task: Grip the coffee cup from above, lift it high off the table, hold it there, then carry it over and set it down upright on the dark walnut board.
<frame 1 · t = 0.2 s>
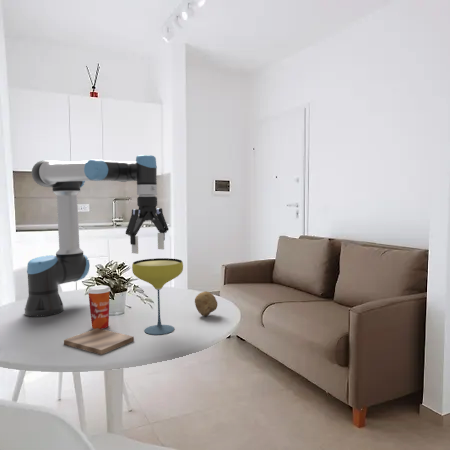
hand: (148, 251, 159), 27 cm above the table, tool pointing down, fingers open, 13 cm apart
walnut board: (99, 342, 137), on the table
cocktail glass: (159, 330, 149), on the table
natural sponge: (206, 316, 166), on the table
coffee cup: (100, 327, 154), on the table
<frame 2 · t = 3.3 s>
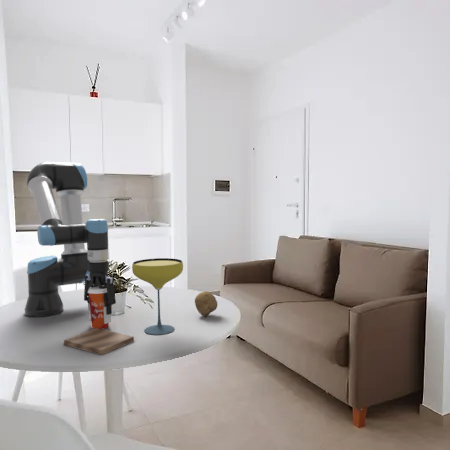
hand: (100, 321, 154), 2 cm above the table, tool pointing down, fingers closed on coffee cup, 7 cm apart
coffee cup: (100, 327, 154), on the table, touching gripper
everything else where it was.
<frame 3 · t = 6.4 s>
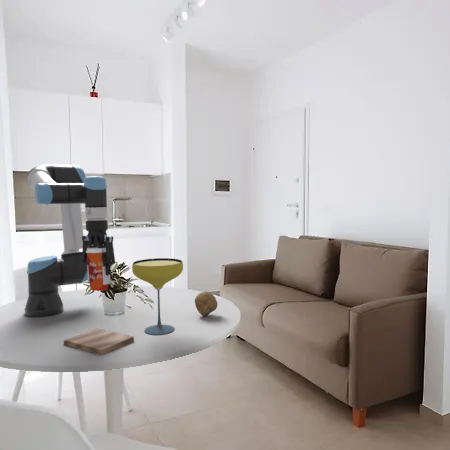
hand: (99, 282, 148), 18 cm above the table, tool pointing down, fingers closed on coffee cup, 7 cm apart
coffee cup: (99, 289, 148), point 15 cm above the table, touching gripper
everything else where it was.
when the fingers open (5 cm above the table, at t = 9.3 s): coffee cup stays where it is, resting on walnut board.
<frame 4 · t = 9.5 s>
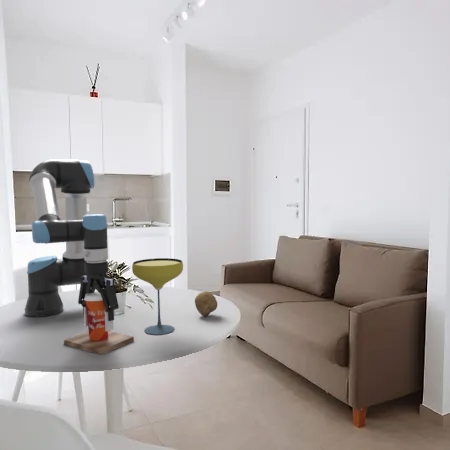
hand: (98, 327, 137), 5 cm above the table, tool pointing down, fingers open, 9 cm apart
coffee cup: (99, 338, 137), point 1 cm above the table, touching walnut board
everything else where it was.
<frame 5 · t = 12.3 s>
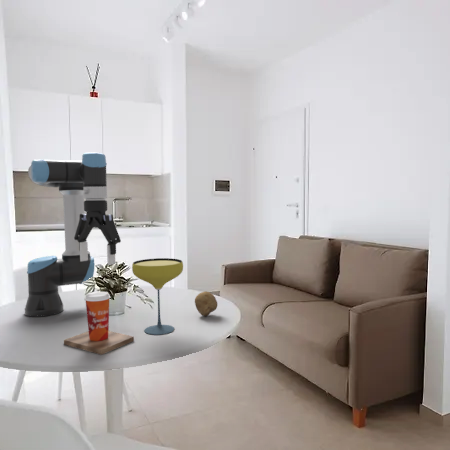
hand: (97, 262, 139), 26 cm above the table, tool pointing down, fingers open, 13 cm apart
nothing on the table moved.
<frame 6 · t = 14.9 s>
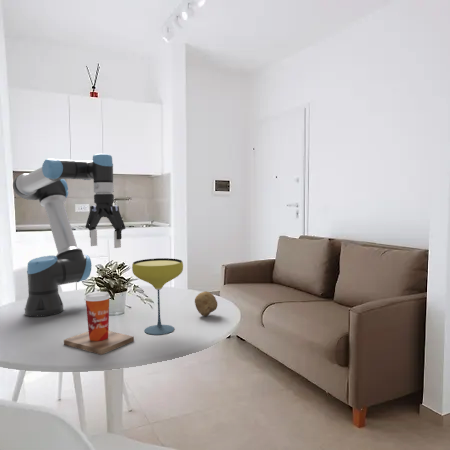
hand: (105, 246, 164), 29 cm above the table, tool pointing down, fingers open, 13 cm apart
nothing on the table moved.
at the end: coffee cup inside the target area on the walnut board (0.0 cm from its centre), point 1.3 cm above the walnut board's base; coffee cup tilted 0°; the gripper is holding nothing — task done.
